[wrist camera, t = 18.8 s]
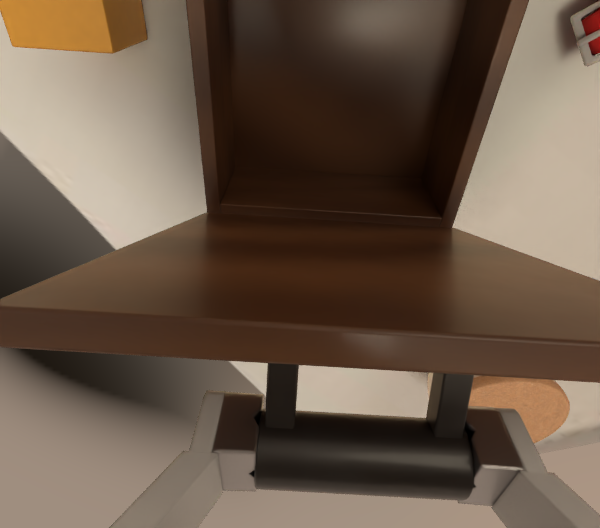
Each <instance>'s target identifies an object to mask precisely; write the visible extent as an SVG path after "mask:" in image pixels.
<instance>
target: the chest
mask: <svg viewBox="0 0 600 528" xmlns="http://www.w3.org/2000/svg"><path fill="white" fill-rule="evenodd" d="M528 2H529V0H186V6H187V16H188V26H189V36H190V46H191V56H192V66H193V76H194V85H195V95H196V105H197V115H198V125H199V135H200V145H201V155H202V165H203V175H204V185H205V195H206V205H207V212H208V213H224V214H240V215H256V216H272V217H288V218H304V219H320V220H336V221H352V222H368V223H383V224H399V225H415V226H431V227H447V228H452V226H453V223H454V220H455V217H456V214H457V211H458V208H459V205H460V202H461V200H462V197H463V194H464V191H465V188H466V185H467V182H468V179H469V176H470V173H471V170H472V167H473V164H474V161H475V158H476V155H477V152H478V149H479V146H480V143H481V141H482V138H483V135H484V132H485V129H486V126H487V123H488V120H489V117H490V114H491V111H492V108H493V105H494V102H495V99H496V96H497V93H498V90H499V87H500V85H501V82H502V79H503V76H504V73H505V70H506V67H507V64H508V61H509V58H510V55H511V52H512V49H513V46H514V43H515V40H516V37H517V34H518V31H519V28H520V26H521V23H522V20H523V17H524V14H525V11H526V8H527V5H528Z"/></svg>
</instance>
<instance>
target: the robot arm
mask: <svg viewBox="0 0 600 528" xmlns="http://www.w3.org/2000/svg"><path fill="white" fill-rule="evenodd" d="M263 406H264V394H252V393H238V392H226V391H210V390H207V391H206V393H205V395H204V397H203V401H202V405H201V409H200V412H199V416H198V419H197V423H196V427H195V431H194V434H193V438H192V442H191V445H190V449H189V451H183V452H182V453H181V454H180V455H179V456H178V457H177V458H176V459H175V460H174V461H173V462H172V463H171V464H170V465H169V466H168V467H167V468H166V469H165V470H164V471H163V472H162V473H161V475H159V477H158V478H157V479H156V480H155V481H154V482H153V483H152V484H151V485H150V486H149V487H148V488H147V489H146V490H145V491H144V492H143V493H142V494H141V495H140V496H139V497H138V498H137V500H135V501H134V502H133V504H132V505H131V506H130V507H129V508H128V509H127V510H126V511H125V512H124V513H123V514H122V515H121V516H120V517H119V518H118V519H117V520H116V521H115V522H114V523H113V524H112V525H111V526H110V527H109V528H198V527H199V525H200V524H201V523H202V521H203V520H204V519H205V517H206V516H207V514H208V513H209V511H210V510H211V509H212V507H213V506H214V505H215V503H216V502H217V500H218V499H219V498H220V496H221V495H222V493H223V490H228V491H256V488H255V484H254V474H255V466H256V455H257V444H258V434H259V420H260V416H261V413H262V410H263ZM464 429H465V431H466V433H467V435H468V438H469V441H470V445H471V449H472V454H473V460H474V485H473V490H472V493H471V495H470V497H469V498H468V499H466V500H463V501H460V500H458V503H462V504H474V505H486V506H492V509H493V510H494V512H495V513H496V514H497V516H498V517H499V518H500V520H501V521H502V522H503V523H504V524H505V526H506V527H507V528H600V515H599V514H598V513H597V512H596V511H595V510H594V509H593V508H592V507H591V506H589V505H588V504H587V503H586V502H585V501H584V500H583V499H582V498H581V497H580V496H578V495H577V494H576V493H575V492H574V491H573V490H572V489H571V488H570V487H569V486H567V485H566V484H565V483H564V482H563V481H562V480H561V479H560V478H559V477H558V476H557V475H555V474H554V473H550V472H547V470H546V468H545V466H544V464H543V462H542V460H541V458H540V456H539V453H538V451H537V449H536V447H535V445H534V443H533V441H532V439H531V437H530V435H529V433H528V431H527V429H526V427H525V424H524V422H523V420H522V418H521V416H520V414H519V413H518V412H517V411H516V410H515V409H512V408H494V407H482V406H468V411H467V417H466V422H465V428H464Z"/></svg>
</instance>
